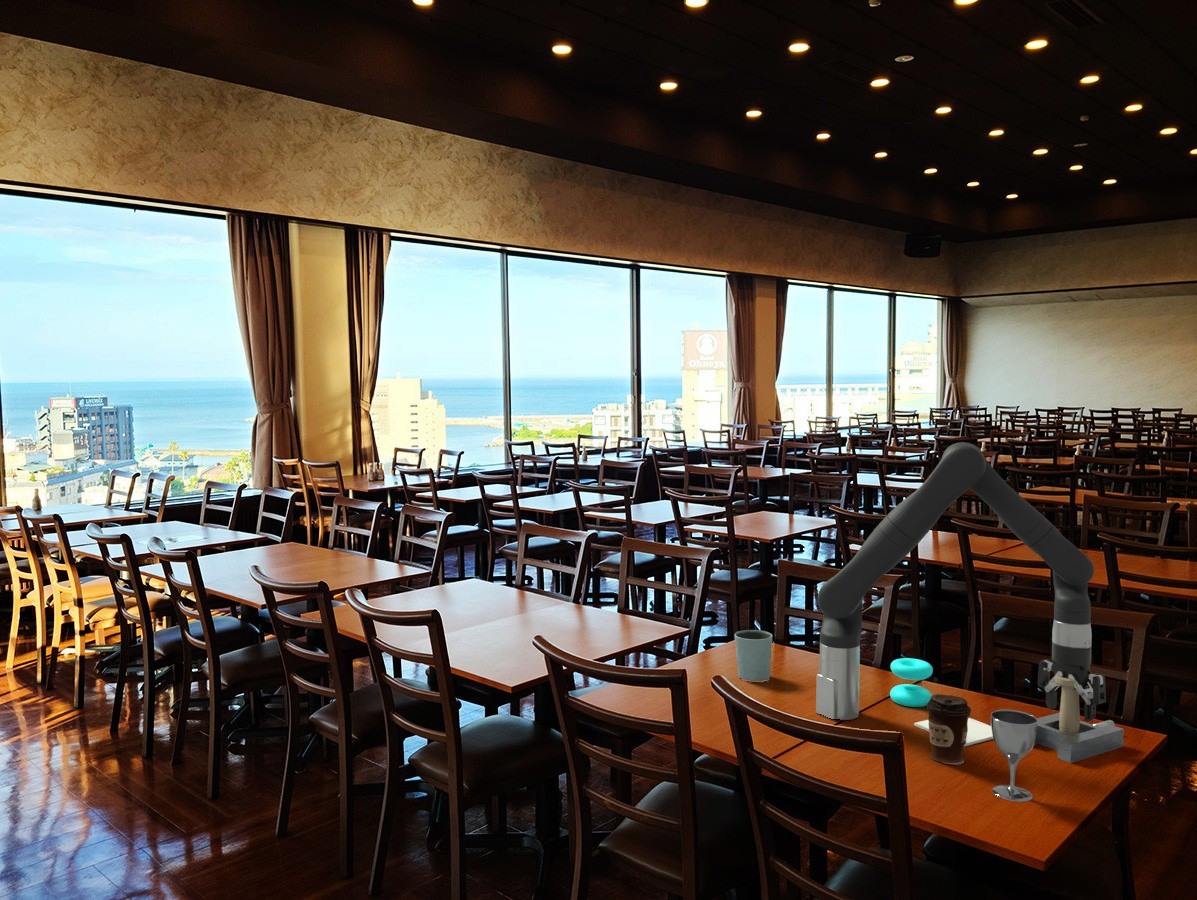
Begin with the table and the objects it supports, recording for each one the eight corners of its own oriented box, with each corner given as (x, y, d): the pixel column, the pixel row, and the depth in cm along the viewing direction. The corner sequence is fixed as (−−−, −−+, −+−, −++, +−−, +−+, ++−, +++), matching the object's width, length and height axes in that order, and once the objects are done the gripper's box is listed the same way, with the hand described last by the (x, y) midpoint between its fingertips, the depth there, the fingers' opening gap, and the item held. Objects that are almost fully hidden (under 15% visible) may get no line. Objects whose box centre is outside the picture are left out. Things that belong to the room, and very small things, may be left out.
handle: (1089, 746, 190) (1091, 678, 189) (1066, 750, 188) (1068, 682, 187) (1070, 738, 195) (1072, 672, 194) (1048, 742, 193) (1050, 675, 192)
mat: (964, 746, 191) (964, 743, 191) (914, 725, 203) (914, 723, 203) (1007, 734, 197) (1007, 732, 197) (956, 715, 209) (956, 712, 209)
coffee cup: (948, 770, 178) (949, 708, 177) (916, 756, 185) (917, 696, 185) (977, 762, 182) (979, 701, 181) (945, 748, 189) (946, 689, 189)
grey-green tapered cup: (775, 683, 233) (775, 639, 233) (737, 683, 233) (737, 639, 233) (768, 672, 243) (768, 629, 243) (731, 672, 244) (732, 629, 243)
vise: (1070, 763, 182) (1071, 744, 181) (1015, 741, 193) (1015, 724, 193) (1139, 741, 193) (1140, 724, 192) (1083, 722, 204) (1083, 706, 204)
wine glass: (981, 785, 171) (983, 710, 171) (1020, 783, 172) (1021, 708, 171) (1003, 803, 163) (1005, 725, 163) (1044, 801, 164) (1046, 723, 163)
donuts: (907, 670, 212) (882, 658, 222) (907, 710, 213) (881, 697, 222) (941, 666, 215) (915, 655, 225) (941, 706, 216) (914, 693, 225)
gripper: (1030, 636, 195) (1029, 707, 196) (1092, 651, 182) (1090, 728, 183) (1052, 631, 198) (1051, 702, 199) (1114, 647, 186) (1112, 722, 186)
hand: (1070, 714), depth 191 cm, fingers open, 8 cm apart
